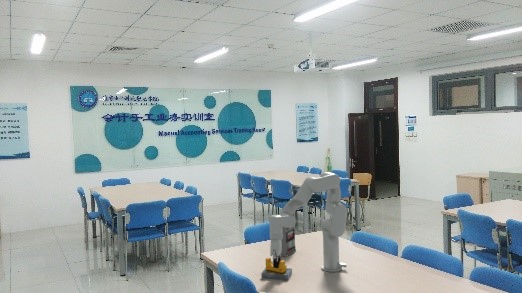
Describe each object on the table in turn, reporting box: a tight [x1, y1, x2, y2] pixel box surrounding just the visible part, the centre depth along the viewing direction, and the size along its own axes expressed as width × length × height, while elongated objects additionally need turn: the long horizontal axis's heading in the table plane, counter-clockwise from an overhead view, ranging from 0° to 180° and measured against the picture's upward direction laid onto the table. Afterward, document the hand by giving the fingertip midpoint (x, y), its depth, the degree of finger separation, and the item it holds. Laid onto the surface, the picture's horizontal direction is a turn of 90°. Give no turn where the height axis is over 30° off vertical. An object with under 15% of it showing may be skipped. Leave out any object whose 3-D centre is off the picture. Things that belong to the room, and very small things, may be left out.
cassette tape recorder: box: [280, 224, 297, 257], centre depth 283 cm, size 14×6×25 cm, turn 148°
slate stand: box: [261, 267, 293, 281], centre depth 241 cm, size 16×11×3 cm
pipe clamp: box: [265, 257, 288, 273], centre depth 242 cm, size 12×4×6 cm, turn 55°
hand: (277, 265), depth 241 cm, fingers closed on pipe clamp, 4 cm apart
